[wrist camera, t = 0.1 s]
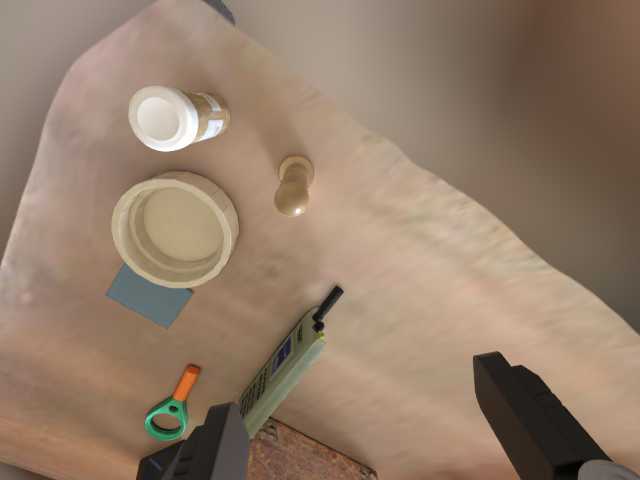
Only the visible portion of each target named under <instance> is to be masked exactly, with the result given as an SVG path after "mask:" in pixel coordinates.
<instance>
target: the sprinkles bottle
mask: <svg viewBox="0 0 640 480" xmlns="http://www.w3.org/2000/svg"><path fill="white" fill-rule="evenodd" d="M128 118H129V122H130V125H131V128H132V130H133V132H134V133H135V135H136V136H137V137H138V138H139V140H140V141H141V142H143V143H144V144H145V145H147V146H148V147H150V148H152V149H155V150H159V151H173V150H177V149H181V148H183V147H185V146H187V145H188V144H191V143H195V142H198V141H201V140H204V139H208V138H211V137H215V136H219V135H221V134H223V133H224V132H225V131H226V129H227V128H228V126H229V123H230V111H229V108H228V106H227V105H226V103H225V102H224V100H223V99H221V98H220V97H218V96H217V95H215V94H212V93H200V92H189V91H179V90H177V89H174V88H171V87H167V86H157V85H153V86H147V87H144V88H142V89H140V90H139V91H138V92H137V93H136V94H135V95H134V96H133V97H132V99H131V101H130V104H129V108H128Z"/></svg>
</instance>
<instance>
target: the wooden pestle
mask: <svg viewBox="0 0 640 480" xmlns="http://www.w3.org/2000/svg"><path fill="white" fill-rule="evenodd" d="M279 179H280V182H281V184H280V186H279V188H278V189H277V191H276V193H275V198H274V201H275V205H276V207H277V209H278V210H279V212H281V213H282V214H283V215H286V216H289V217H294V216H298V215H300V214H302V213H303V212H304V211H305V210H306V208H307V206H308V202H309V197H308V188H309V187H310V186H311V184H312V182H313V180H314V168H313V165H312V163H311V162H310V161H309V160H308V159H307V158H306V157H304V156H301V155H292V156H289V157H287V158H286V159H285V160H284V161H283V162H282V164H281V166H280V169H279Z"/></svg>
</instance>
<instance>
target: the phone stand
mask: <svg viewBox="0 0 640 480" xmlns="http://www.w3.org/2000/svg"><path fill="white" fill-rule="evenodd" d="M184 444H185V441H184V440H183V441H180V442H178V443H176V444H174V445H172V446H169V447H167V448H165V449H163V451H162V450H161V451H159V452H156V453H154V454H152V455H150V456H148V457H145V458H143V459H142V460H141V461H140V463H139V468H138V473H137V477H136V480H171V479H172V477H173V476H174V474H173V473H174V471H175V468H176V465H177V463H179V457H180V454H181V452H182V449H183V446H184Z"/></svg>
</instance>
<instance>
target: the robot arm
mask: <svg viewBox="0 0 640 480" xmlns="http://www.w3.org/2000/svg"><path fill="white" fill-rule="evenodd" d="M473 368H474V383H475V393H476V397H477V401H478V403H479V406H480V408H481V410H482V412H483V414H484V416H485V417H486V419H487V421H488V423H489V424H490V426H491V428H492V430H493V431H494V433H495V435H496V437H497V438H498V440H499V442H500V444H501V445H502V447H503V449H504V451H505V452H506V454H507V456H508V458H509V459H510V461H511V463H512V465H513V466H514V468H515V470H516V472H517V473H518V475H519V477H520V479H521V480H640V476H639V475H638V474H637V473H635V472H634V471H632V470H630V469H629V468H627V467H625V466H623V465H620V464H618V463H615V462H613V461H612V460H611V459H610V458H609V457H608V456H607V455H606V454H605V453H604V452H603V450H602V449H601V448H600V447H599V446H598V445H597V443H596V442H595V441H594V440H593V439H592V438H591V436H590V435H589V434H588V433H587V432H586V431H585V429H584V428H583V427H582V426H581V425H580V424H579V422H578V421H577V420H576V419H575V418H574V417H573V416H572V414H571V413H570V412H569V411H568V410H567V409H566V407H565V406H563V405H562V403H561V402H560V400H559V399H558V398H557V397H556V396H555V395H554V393H553V394H552V392H551V390H550V389H549V388H548V386H547V385H546V384H545V383H544V382H543V381H542V379H541V378H540V377H539V376H538V375H536V374H535V373H533V372H532V371H530V370H528V369H527V368H525V367H524V366H522V365H518V366H513V367H511V366H510V364H509V363H508V362H507V361H506V359H505V358H504V357H503V355H502V354H501V353H500V352H498V351H496V352H491V353H485V354H480V355H475V356H474V357H473ZM249 455H250V438H249V434H248V431H247V429H246V426H245V424H244V421H243V419H242V417H241V414H240V412H239V410H238V407H237V405H236V403H235V402H230V403H225V404H220V405H215V406H211V407H210V409H209V411H208V414H207V417H206V420H205V423H204V425H201V426H196V428H195V429H194V430H193V432H192V433H191V435H190V436H189V437H188V439H187V440H186V442H185V444H184V446H183V449H182V452H181V454H180V457H179V463H177V465H176V468H175V471H174V473H173V474H174V476H173V477H172V479H171V480H245V478H246V473H247V467H248V461H249Z"/></svg>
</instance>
